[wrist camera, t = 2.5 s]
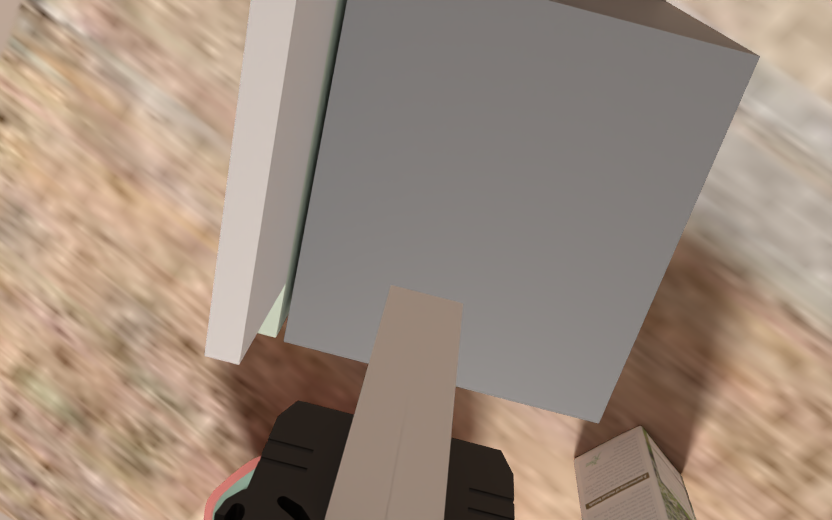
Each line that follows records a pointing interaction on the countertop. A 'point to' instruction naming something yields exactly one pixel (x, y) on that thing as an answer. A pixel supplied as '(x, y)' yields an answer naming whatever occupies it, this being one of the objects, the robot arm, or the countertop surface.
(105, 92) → the countertop surface
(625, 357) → the box
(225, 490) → the cell model
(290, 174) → the side door
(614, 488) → the syrup box
